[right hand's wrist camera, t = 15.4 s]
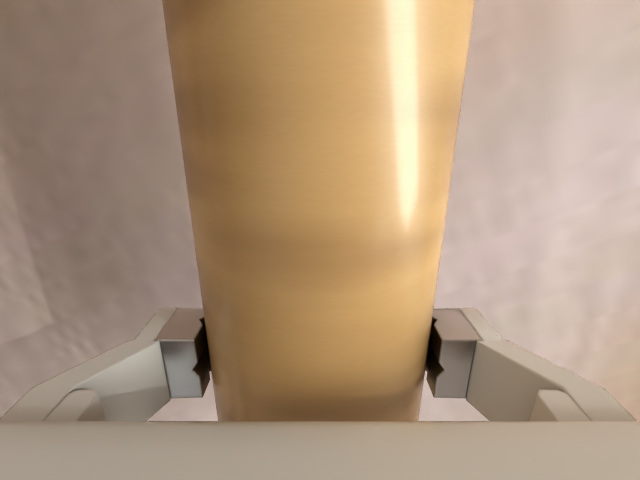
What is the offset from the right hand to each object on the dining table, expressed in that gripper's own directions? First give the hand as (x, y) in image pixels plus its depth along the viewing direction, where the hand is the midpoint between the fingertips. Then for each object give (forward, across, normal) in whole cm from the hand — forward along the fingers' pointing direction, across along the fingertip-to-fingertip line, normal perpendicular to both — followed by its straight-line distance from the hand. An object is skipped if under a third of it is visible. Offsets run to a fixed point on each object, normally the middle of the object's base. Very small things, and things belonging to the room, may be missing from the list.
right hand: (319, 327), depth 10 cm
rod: (+3, 0, +10) cm, 11 cm away
